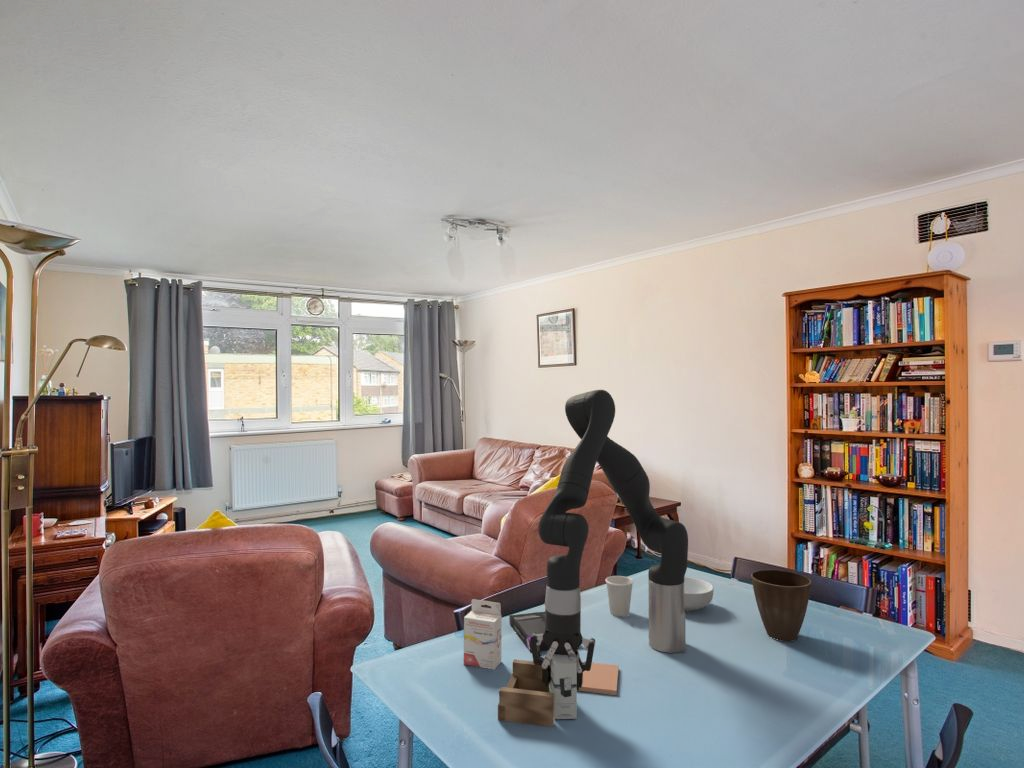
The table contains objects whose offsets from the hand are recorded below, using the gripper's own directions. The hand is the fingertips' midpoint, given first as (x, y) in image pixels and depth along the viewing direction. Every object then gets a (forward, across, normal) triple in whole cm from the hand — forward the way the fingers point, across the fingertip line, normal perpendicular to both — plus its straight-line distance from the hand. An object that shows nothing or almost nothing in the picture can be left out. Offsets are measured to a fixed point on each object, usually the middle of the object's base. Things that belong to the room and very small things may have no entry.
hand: (562, 686), depth 120 cm
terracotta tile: (+5, -5, -14) cm, 15 cm away
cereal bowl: (+4, -30, -66) cm, 73 cm away
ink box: (+5, 0, 0) cm, 5 cm away
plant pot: (+4, -54, -49) cm, 73 cm away
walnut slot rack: (+5, +7, 0) cm, 8 cm away
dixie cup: (+5, -10, -56) cm, 57 cm away
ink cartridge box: (+5, +22, -16) cm, 28 cm away
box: (+5, +10, -36) cm, 37 cm away
